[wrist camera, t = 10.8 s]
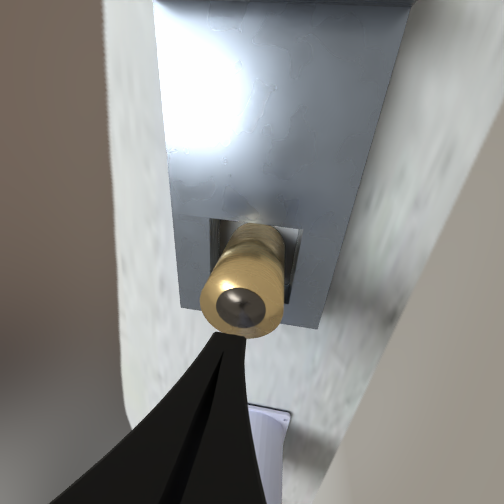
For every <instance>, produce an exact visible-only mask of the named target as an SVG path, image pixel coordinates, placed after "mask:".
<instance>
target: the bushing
mask: <svg viewBox="0 0 504 504" xmlns="http://www.w3.org/2000/svg"><path fill="white" fill-rule="evenodd" d="M284 266H285V245H284V241H283V238H282V237H281V235H280V234H279V232H278V231H277V230H276V229H274V228H273V227H271V226H270V225H263V224H255V223H247V224H244V225H242V226H240V227H239V228H238V229H236V230H235V232H234V233H233V235H232V236H231V238H230V240H229V242H228V244H227V245H226V247H225V249H224V251H223V253H222V255H221V256H220V258H219V260H218V262H217V264H216V266H215V267H214V269H213V271H212V273H211V275H210V277H209V278H208V280H207V282H206V284H205V286H204V288H203V289H202V292H201V295H200V307H201V310H202V312H203V315H204V316H205V318H206V319H207V321H208V322H209V323H210V324H211V325H212V326H213V327H215V328H216V329H217V330H219V331H221V332H223V333H227V334H233V335H239V336H244V337H245V338H246V339H251V338H258V337H262V336H264V335H267V334H269V333H270V332H272V331H273V330H274V329H276V327H277V326H278V325H279V324H280V322H281V320H282V317H283V312H284Z"/></svg>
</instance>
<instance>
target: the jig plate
mask: <svg viewBox="0 0 504 504" xmlns="http://www.w3.org/2000/svg"><path fill="white" fill-rule="evenodd" d="M417 1H418V0H153V7H154V18H155V29H156V41H157V52H158V63H159V74H160V85H161V96H162V107H163V118H164V129H165V140H166V151H167V162H168V173H169V184H170V195H171V206H172V217H173V228H174V239H175V250H176V261H177V272H178V283H179V294H180V305H181V308H187V309H193V310H199V311H202V310H201V307H200V295H201V292H202V289H203V288H204V286H205V284H206V282H207V280H208V278H209V277H210V275H211V273H212V271H213V269H214V267H215V266H216V264H217V262H218V260H219V230H220V219H223V220H231V221H239V222H247V223H255V224H263V225H271V226H279V227H288V228H296V229H299V233H298V238H297V243H296V249H295V254H294V259H293V265H292V270H291V276H290V281H289V285H286V284H284V312H283V317H282V320H281V322H280V324H286V325H293V326H299V327H305V328H311V329H318V325H319V322H320V318H321V315H322V312H323V308H324V305H325V301H326V298H327V294H328V291H329V287H330V284H331V281H332V277H333V274H334V270H335V267H336V263H337V260H338V257H339V253H340V250H341V246H342V243H343V239H344V236H345V232H346V229H347V226H348V222H349V219H350V215H351V212H352V208H353V205H354V202H355V198H356V195H357V191H358V188H359V184H360V181H361V177H362V174H363V171H364V167H365V164H366V160H367V157H368V153H369V150H370V146H371V143H372V140H373V136H374V133H375V129H376V126H377V122H378V119H379V116H380V112H381V109H382V105H383V102H384V98H385V95H386V91H387V88H388V85H389V81H390V78H391V74H392V71H393V67H394V64H395V61H396V57H397V54H398V50H399V47H400V43H401V40H402V36H403V33H404V30H405V26H406V23H407V19H408V16H409V12H410V9H411V7H412V6H413V5H414V4H415V3H416V2H417Z"/></svg>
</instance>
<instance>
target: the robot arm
mask: <svg viewBox="0 0 504 504" xmlns="http://www.w3.org/2000/svg"><path fill="white" fill-rule="evenodd" d="M245 349H246V338H245V337H244V336H239V335H233V334H227V333H221V332H215V333H213V335H212V336H211V338H210V339H209V341H208V342H207V344H206V345H205V347H204V348H203V350H202V351H201V352H200V354H199V355H198V357H197V358H196V359H195V361H194V362H193V363H192V364H191V366H190V367H189V368H188V369H187V371H186V372H185V373H184V374H183V376H182V377H181V378H180V379H179V381H178V382H177V383H176V384H175V385H174V386H173V387H172V389H171V390H170V391H169V392H168V393H167V394H166V395H165V397H164V398H163V399H162V400H161V401H160V402H159V403H158V404H157V405H156V406H155V407H154V409H153V410H152V411H151V412H150V413H149V414H148V415H147V416H146V417H145V418H144V419H143V420H142V421H141V422H140V423H139V424H138V425H137V426H136V427H135V428H134V429H133V430H132V431H131V432H130V433H129V434H128V435H127V436H125V437H124V439H122V440H121V441H120V442H119V443H118V444H117V445H116V446H115V447H114V448H113V449H112V450H111V451H110V452H108V453H107V454H106V455H105V456H104V457H103V458H102V459H101V460H100V461H98V463H96V464H95V465H94V466H93V467H92V468H90V469H89V470H88V471H87V472H86V473H85V474H83V475H82V476H81V477H80V478H79V479H78V480H76V481H75V482H74V483H73V484H72V485H71V486H69V487H68V488H67V489H66V490H65V491H64V492H62V493H61V494H60V495H59V496H58V497H56V498H55V499H54V500H53V501H52V502H50V504H282V466H283V443H284V439H285V436H286V432H287V429H288V425H289V422H290V414H289V413H287V412H283V411H278V410H272V409H267V408H262V407H257V406H252V405H248V403H247V395H246V383H245V367H244V359H245Z"/></svg>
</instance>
